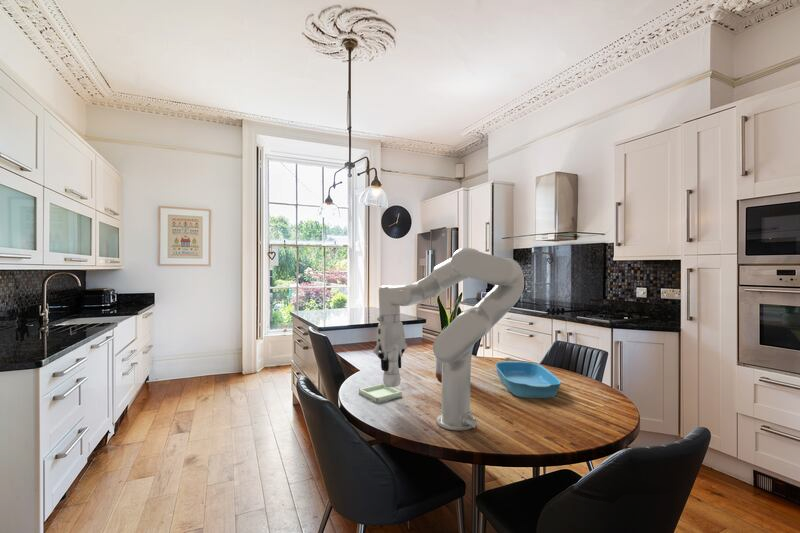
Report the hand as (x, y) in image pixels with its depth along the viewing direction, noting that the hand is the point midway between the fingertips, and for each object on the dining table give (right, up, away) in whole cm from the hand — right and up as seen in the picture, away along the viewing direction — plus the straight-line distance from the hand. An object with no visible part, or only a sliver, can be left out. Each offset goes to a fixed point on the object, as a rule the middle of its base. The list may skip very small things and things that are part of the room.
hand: (391, 368), depth 138 cm
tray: (-5, -15, +15) cm, 22 cm away
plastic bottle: (0, -7, 0) cm, 7 cm away
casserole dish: (+58, -16, +27) cm, 66 cm away
